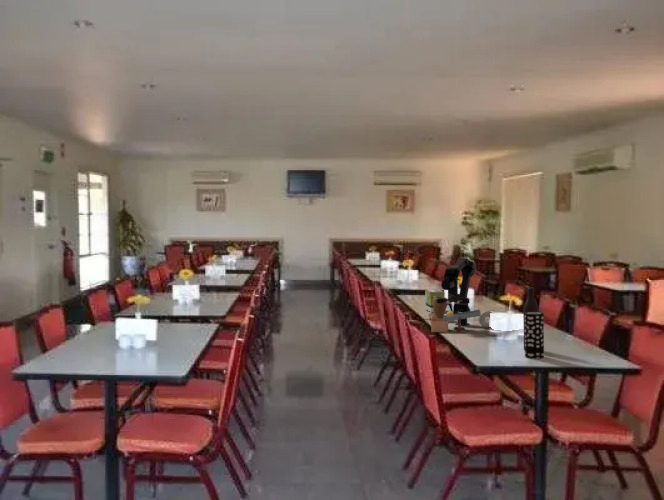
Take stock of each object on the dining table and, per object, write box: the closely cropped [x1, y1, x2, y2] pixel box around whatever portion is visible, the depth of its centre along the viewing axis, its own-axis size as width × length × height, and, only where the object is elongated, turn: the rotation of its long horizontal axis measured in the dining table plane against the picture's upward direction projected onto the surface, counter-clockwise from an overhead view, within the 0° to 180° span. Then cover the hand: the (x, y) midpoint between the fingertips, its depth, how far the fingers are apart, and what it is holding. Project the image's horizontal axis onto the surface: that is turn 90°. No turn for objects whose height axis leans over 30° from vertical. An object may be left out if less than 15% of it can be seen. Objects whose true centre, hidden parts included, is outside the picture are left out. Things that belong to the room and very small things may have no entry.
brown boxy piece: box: [430, 315, 449, 333], centre depth 384 cm, size 10×11×8 cm
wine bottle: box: [522, 287, 540, 351], centre depth 320 cm, size 7×7×30 cm
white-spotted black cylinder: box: [524, 311, 545, 360], centre depth 305 cm, size 8×8×20 cm
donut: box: [478, 310, 493, 329], centre depth 390 cm, size 10×3×10 cm, turn 99°
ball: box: [446, 310, 454, 317], centre depth 383 cm, size 4×4×4 cm
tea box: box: [424, 288, 445, 313], centre depth 466 cm, size 15×10×15 cm
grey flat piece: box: [443, 308, 482, 322], centre depth 386 cm, size 21×16×3 cm
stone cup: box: [427, 296, 448, 320], centre depth 425 cm, size 15×12×15 cm
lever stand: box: [453, 318, 466, 334], centre depth 382 cm, size 6×15×8 cm, turn 172°
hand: (453, 315), depth 392 cm, fingers closed
